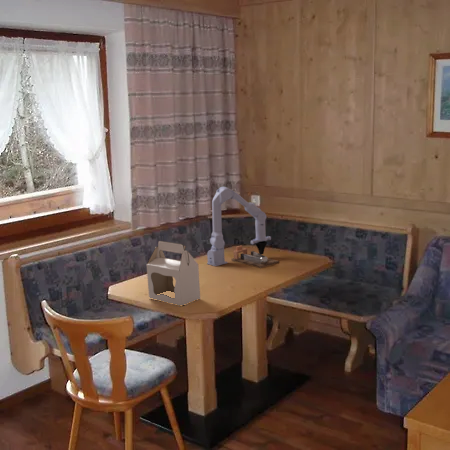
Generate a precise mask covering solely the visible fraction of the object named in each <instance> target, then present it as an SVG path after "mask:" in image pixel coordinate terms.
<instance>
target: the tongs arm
mask: <svg viewBox="0 0 450 450" xmlns="http://www.w3.org/2000/svg"><path fill="white" fill-rule="evenodd" d="M250 254H251V256H256V257H262V256H264V254H259V252H257V251H254V250H252V251H250Z"/></svg>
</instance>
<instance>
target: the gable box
mask: <svg viewBox="0 0 450 450" xmlns="http://www.w3.org/2000/svg"><path fill="white" fill-rule="evenodd" d="M186 248H187V245H184V244H183V243H177V242H171V241H165V240H158V245H157V246H155V247H154V250H153V252H152V253H151V256H150V257H149V259H148V261H147V262H146V272H147V275H146V276H147V289H148V290H147V291H148V298H149V297H150V298H153V299H157V300H161V301H164V302H168V303H173V304H177V305H184V304H187V303H189V302H192V301H194V300H197V299H200V300H201V287H200V285H201V284H200V273H199V272H200V271H199V264H198V262H197V261H196V260H195V258H194V257H193V255H191V253H190V252H189V251H188V250H186ZM164 252H169V253H174V254H180V255H181V257H180V259H179V260H178V259H172V258H167V257H166V256H165V253H164ZM174 279H175V284H174ZM166 291H171V292H174V293H175V298H171V297H169V296H167V295H164V294H160V293H163V292H166ZM157 294H160V295H157ZM197 301H198V300H197ZM192 303H193V302H192ZM187 305H188V304H187Z"/></svg>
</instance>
